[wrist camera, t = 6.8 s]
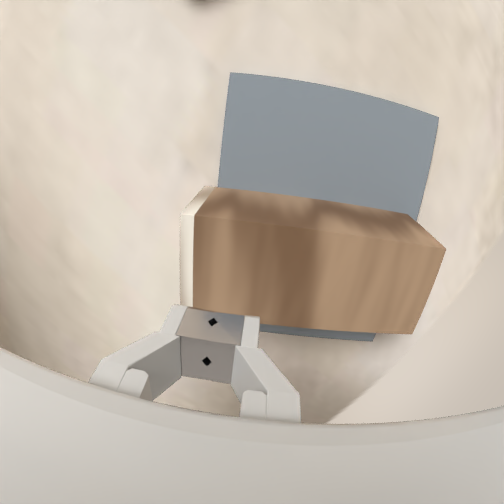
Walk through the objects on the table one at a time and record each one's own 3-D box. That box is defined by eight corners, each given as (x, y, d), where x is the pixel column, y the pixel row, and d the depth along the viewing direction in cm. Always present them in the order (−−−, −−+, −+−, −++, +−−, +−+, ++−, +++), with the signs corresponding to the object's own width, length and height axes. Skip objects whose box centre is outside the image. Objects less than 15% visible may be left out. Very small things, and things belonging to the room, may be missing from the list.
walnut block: (180, 313, 15) (412, 333, 14) (179, 214, 12) (446, 248, 12) (201, 265, 19) (386, 286, 19) (204, 186, 17) (407, 213, 17)
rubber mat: (209, 320, 21) (208, 323, 21) (231, 73, 15) (230, 72, 14) (371, 337, 21) (372, 341, 21) (435, 117, 14) (438, 117, 14)
